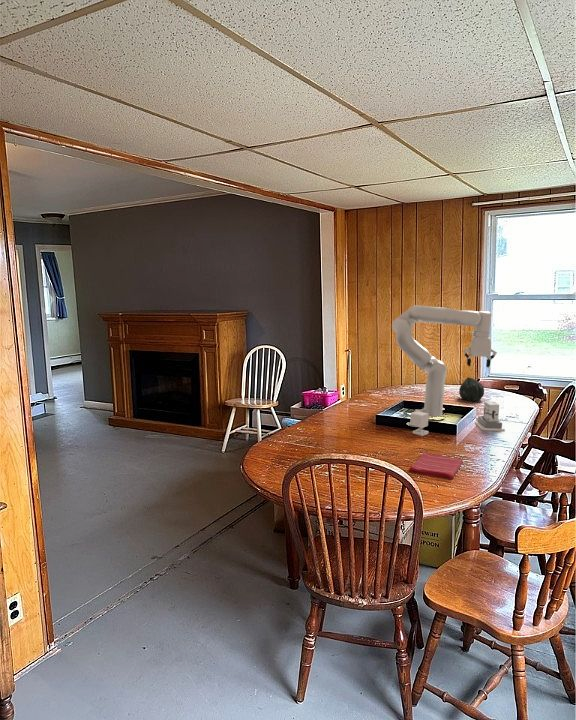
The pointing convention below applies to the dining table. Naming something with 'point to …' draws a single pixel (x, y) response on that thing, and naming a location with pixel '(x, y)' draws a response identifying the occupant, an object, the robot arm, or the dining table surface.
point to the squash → (471, 390)
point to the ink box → (491, 411)
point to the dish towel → (436, 466)
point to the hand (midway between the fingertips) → (478, 366)
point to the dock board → (489, 425)
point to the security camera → (419, 422)
